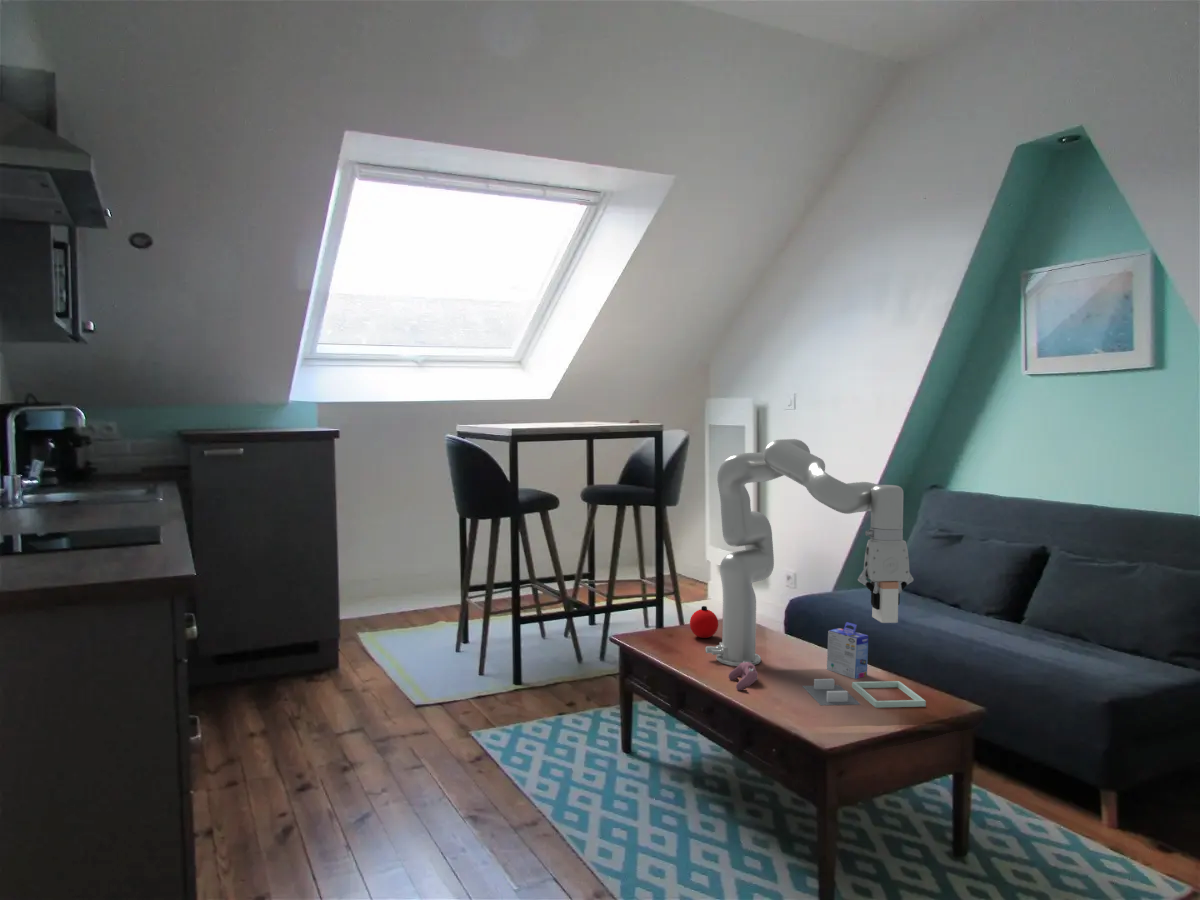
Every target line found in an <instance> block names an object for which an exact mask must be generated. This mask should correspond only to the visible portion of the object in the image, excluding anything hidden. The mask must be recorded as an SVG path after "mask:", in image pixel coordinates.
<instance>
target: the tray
mask: <svg viewBox="0 0 1200 900" xmlns="http://www.w3.org/2000/svg"><path fill="white" fill-rule="evenodd" d="M851 688H852V689H854V691H856V692H857V693H858V694H860V696H861V697H862V698H864V699H865V701H867V702H868V703H869V704H871V706H873V707H874V708H902V707H903V708H905V707H906V708H910V707H912V708H914V707H918V708H920V707H925V708H926V706H927V704H926V703H927V701H926V700H925V699H924V698H922V696H920V695H919V694H917V693H916V692H915V691H914V690H912V689H911V688H910V687H908V686H906V685H905V684H904V683H903V682H901V681H899V680H887V681H886V680H883V681H881V680H880V681H879V680H878V681H852V682H851ZM872 688H873V689H875V688H876V689H878V688H879V689H880V688H884V689H885V688H897V689H899V690H901V691H902V692H903V693H904V694H906V695H907V696H908V697H910V698H911V699H908V700H907V699H901V700H899V699H898V700H877V699H876V698H875V697H873V696H872V695H871V694H870V693H869V692H867V691H866V690H865V689H872Z"/></svg>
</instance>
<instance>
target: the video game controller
mask: <svg viewBox="0 0 1200 900" xmlns="http://www.w3.org/2000/svg"><path fill="white" fill-rule="evenodd" d="M758 675H759V674H758V671H757V668H756V665H753V664H752V663H750V662H745V661H743V663H740V664H739V665H738V666H735V668H734V669H732V670H731V671H730V672H729V674H728V680H731V681H734V680H737V679H739V678H738V677H741V679H740V680H739V681H738V682H737V683H736V685H735V687H736V690H737V691H745V690H746V689H747V688H746V687H750V686H751V685H753V684H754V683H755V682H756V681H758Z"/></svg>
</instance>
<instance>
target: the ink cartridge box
mask: <svg viewBox="0 0 1200 900" xmlns="http://www.w3.org/2000/svg"><path fill="white" fill-rule="evenodd" d="M848 626H851V627H852V628H853V629H852V628H850V627H848ZM857 626H858V624H855V623H852V622H848V621H846V622H845V624H844V627H843V628H840V627H838V628H833V629H829V630H828V631H827V632H828V633H827V654H826V655H827V657H826V670H827V671H830V672H832V673H835V674H839V675H842V676H845V677H848V678H850V679H855V680H856V679H860V678H864V677H867V676H868V659H869V658H868V656H869V654H868V653H869V635H868V634H865V633H860V632H856V631H857V628H858V627H857Z"/></svg>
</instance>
